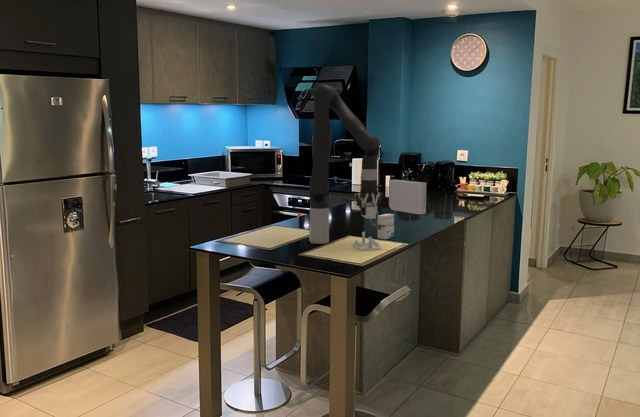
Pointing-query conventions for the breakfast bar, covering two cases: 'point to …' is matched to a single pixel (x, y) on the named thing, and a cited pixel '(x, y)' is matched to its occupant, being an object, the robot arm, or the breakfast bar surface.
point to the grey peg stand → (366, 244)
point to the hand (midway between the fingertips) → (368, 214)
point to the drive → (369, 211)
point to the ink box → (385, 226)
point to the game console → (407, 196)
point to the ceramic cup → (361, 201)
